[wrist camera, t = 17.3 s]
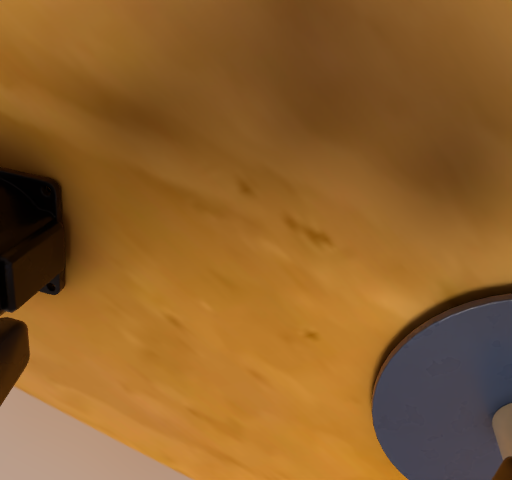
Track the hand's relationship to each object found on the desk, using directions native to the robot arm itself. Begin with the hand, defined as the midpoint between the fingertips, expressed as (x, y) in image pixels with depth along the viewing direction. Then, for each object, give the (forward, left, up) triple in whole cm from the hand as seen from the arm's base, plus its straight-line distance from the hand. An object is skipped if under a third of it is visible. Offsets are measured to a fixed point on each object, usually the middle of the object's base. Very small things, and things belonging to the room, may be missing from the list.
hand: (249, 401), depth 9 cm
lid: (+12, -9, -12) cm, 19 cm away
